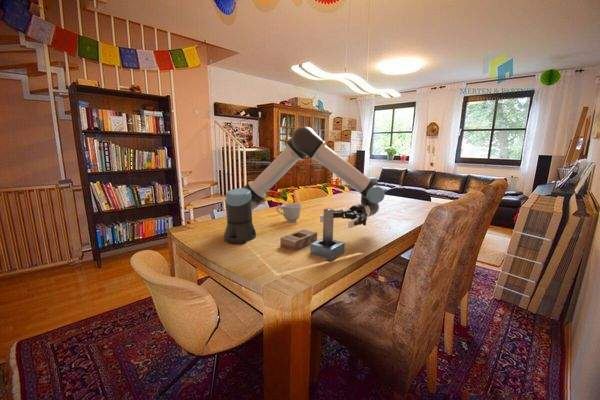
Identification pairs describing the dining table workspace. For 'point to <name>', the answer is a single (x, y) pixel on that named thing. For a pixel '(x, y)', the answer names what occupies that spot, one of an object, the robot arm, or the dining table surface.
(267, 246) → the dining table surface
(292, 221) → the teacup
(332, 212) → the grey brown square post
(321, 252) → the socket block
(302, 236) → the brown rectangular block
